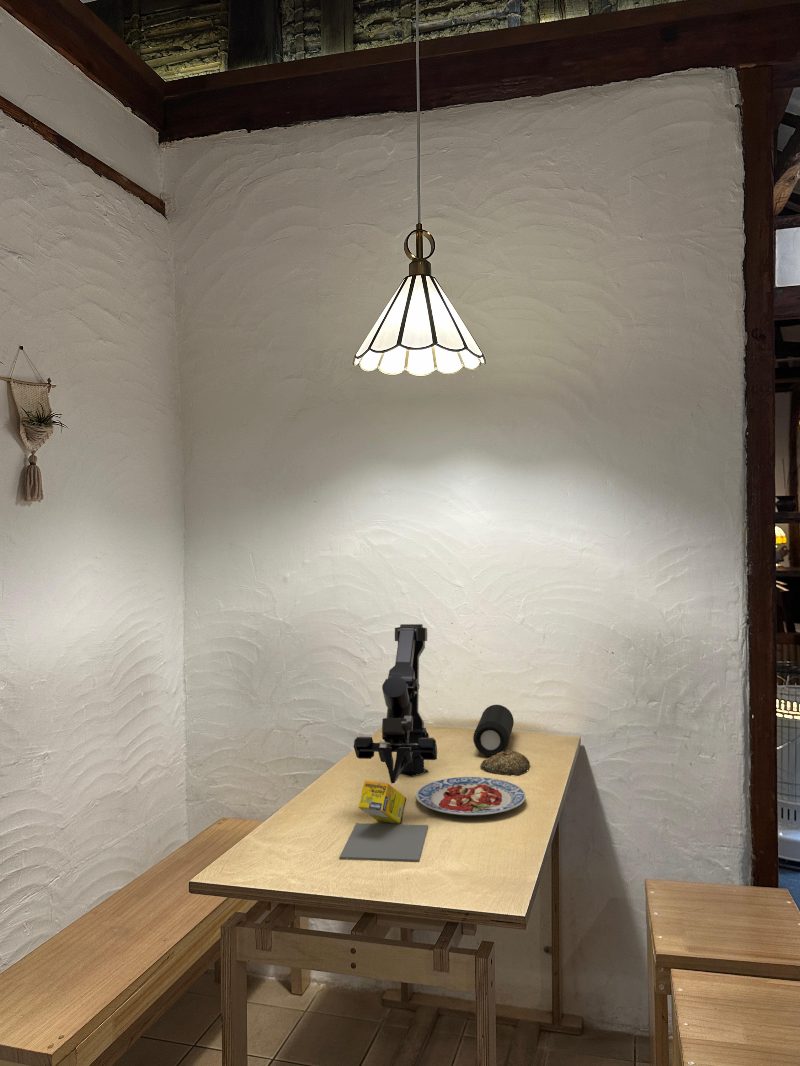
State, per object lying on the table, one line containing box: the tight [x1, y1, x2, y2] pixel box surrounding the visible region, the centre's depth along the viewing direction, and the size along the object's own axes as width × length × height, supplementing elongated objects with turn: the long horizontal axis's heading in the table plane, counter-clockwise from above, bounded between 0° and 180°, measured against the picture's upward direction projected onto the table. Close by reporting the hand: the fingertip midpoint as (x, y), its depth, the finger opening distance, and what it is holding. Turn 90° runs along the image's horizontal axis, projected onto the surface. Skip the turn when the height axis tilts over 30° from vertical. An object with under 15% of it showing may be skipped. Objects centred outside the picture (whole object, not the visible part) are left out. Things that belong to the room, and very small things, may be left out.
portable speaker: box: [472, 704, 515, 757], centre depth 241 cm, size 26×10×10 cm, turn 168°
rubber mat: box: [338, 822, 429, 862], centre depth 172 cm, size 18×16×1 cm
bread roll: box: [479, 749, 531, 776], centre depth 221 cm, size 13×12×5 cm
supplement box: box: [358, 780, 407, 824], centre depth 180 cm, size 6×6×11 cm
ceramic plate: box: [415, 776, 527, 816], centre depth 195 cm, size 26×26×3 cm
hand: (392, 782), depth 183 cm, fingers closed
